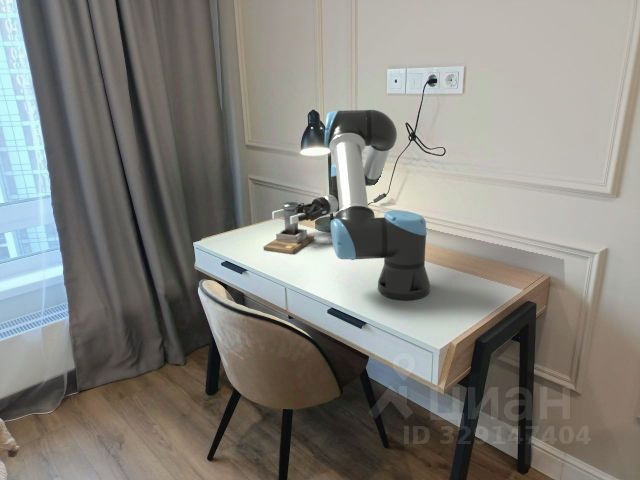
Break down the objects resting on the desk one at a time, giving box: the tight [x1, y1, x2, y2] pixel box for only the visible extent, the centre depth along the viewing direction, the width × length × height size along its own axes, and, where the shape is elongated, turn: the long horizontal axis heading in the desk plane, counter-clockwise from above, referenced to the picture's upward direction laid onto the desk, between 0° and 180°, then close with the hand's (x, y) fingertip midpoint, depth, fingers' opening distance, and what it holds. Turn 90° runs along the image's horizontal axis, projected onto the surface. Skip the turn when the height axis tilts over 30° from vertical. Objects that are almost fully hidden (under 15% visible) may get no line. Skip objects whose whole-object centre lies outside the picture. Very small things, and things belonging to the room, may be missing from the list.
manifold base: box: [263, 228, 315, 255], centre depth 182 cm, size 18×12×4 cm, turn 155°
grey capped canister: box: [282, 201, 299, 236], centre depth 182 cm, size 6×6×14 cm
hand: (281, 218), depth 178 cm, fingers open, 9 cm apart
